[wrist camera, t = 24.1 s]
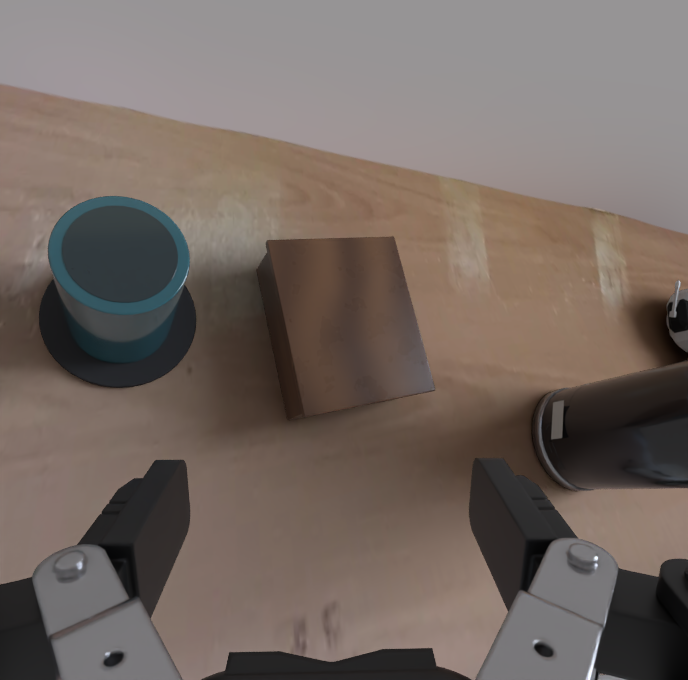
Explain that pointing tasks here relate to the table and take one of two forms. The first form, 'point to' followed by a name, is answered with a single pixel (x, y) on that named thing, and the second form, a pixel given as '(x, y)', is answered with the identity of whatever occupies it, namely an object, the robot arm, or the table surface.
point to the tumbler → (118, 276)
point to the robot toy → (678, 317)
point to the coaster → (107, 372)
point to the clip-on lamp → (609, 677)
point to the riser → (341, 324)
